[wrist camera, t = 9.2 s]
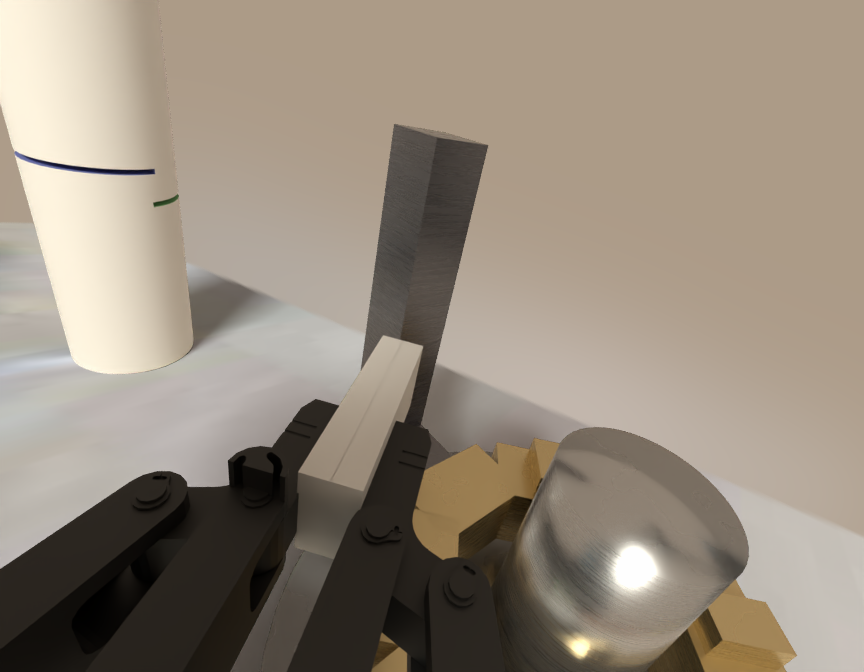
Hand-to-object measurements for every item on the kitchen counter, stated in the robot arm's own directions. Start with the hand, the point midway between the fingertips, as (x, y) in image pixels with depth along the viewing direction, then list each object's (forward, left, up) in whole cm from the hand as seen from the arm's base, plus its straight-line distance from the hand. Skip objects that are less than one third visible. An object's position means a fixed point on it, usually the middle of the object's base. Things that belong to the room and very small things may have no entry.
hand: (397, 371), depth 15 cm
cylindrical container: (+20, -9, -10) cm, 25 cm away
